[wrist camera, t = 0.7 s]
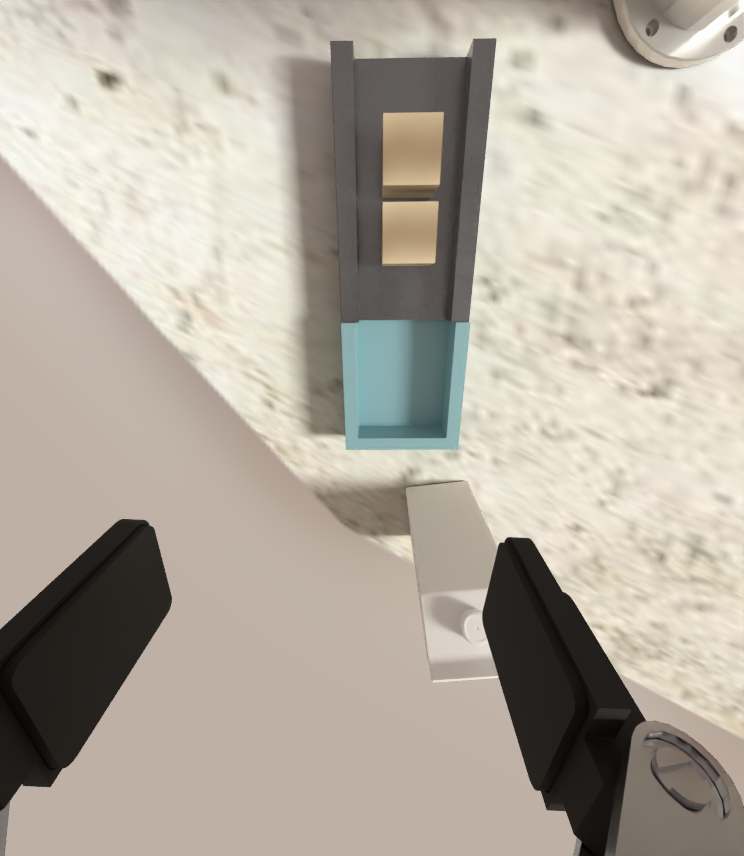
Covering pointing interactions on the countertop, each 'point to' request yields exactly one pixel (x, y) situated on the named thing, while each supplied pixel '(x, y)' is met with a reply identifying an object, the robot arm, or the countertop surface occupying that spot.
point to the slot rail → (362, 198)
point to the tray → (403, 383)
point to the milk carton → (452, 578)
